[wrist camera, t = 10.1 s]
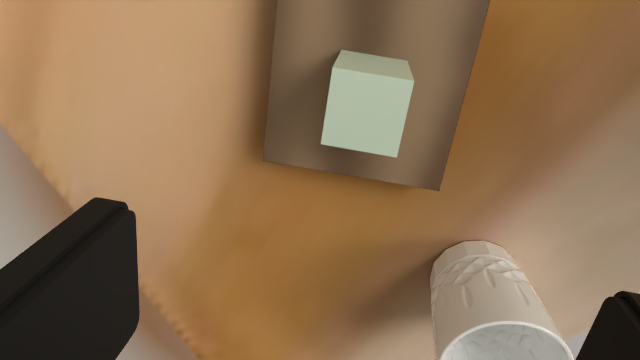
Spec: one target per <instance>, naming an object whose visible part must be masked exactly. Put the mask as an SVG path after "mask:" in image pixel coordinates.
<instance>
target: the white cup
mask: <svg viewBox="0 0 640 360" xmlns="http://www.w3.org/2000/svg"><path fill="white" fill-rule="evenodd" d="M430 287H431V312H432V329H433V339H434V350H435V360H574V357H573V355H572V352H571V350H570V349H569V347H568V345H567V344H566V342H565V340H564V339H563V337H562V335H561V334H560V332H559V330H558V328H557V327H556V325H555V323H554V322H553V320H552V318H551V316H550V315H549V313H548V311H547V309H546V308H545V306H544V304H543V303H542V301H541V299H540V298H539V296H538V294H537V293H536V292H535V290H534V289H533V287H532V285H531V283H530V282H529V280H528V279H527V278H526V276H525V275H524V274H523V272H522V271H521V269H520V267H519V265H518V264H517V262H516V260H515V259H514V258H513V257H512V256H511V255H510V254H509V253H508V252H507V251H506V250H505V249H504V248H503V247H501V246H498V245H495V244H493V243H490V242H487V241H464V242H461V243H459V244H457V245H455V246H452V247H450V248H448V249H446V250H445V251H444V252H443V253H442V254H441V255H440V256H439V258H438V259H437V260H436V261H435V262H434V263H433V268H432V272H431V276H430Z"/></svg>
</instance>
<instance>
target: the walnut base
mask: <svg viewBox="0 0 640 360" xmlns="http://www.w3.org/2000/svg"><path fill="white" fill-rule="evenodd" d="M489 3H490V0H277V9H276V20H275V31H274V42H273V53H272V64H271V75H270V86H269V97H268V108H267V119H266V130H265V141H264V152H263V161H267V162H273V163H278V164H284V165H290V166H296V167H302V168H308V169H313V170H319V171H325V172H331V173H337V174H343V175H349V176H354V177H360V178H366V179H372V180H378V181H384V182H390V183H395V184H401V185H407V186H413V187H419V188H425V189H430V190H436V191H439V190H440V186H441V182H442V178H443V175H444V171H445V167H446V163H447V160H448V156H449V152H450V149H451V145H452V141H453V137H454V134H455V130H456V126H457V122H458V119H459V115H460V111H461V108H462V104H463V100H464V96H465V93H466V89H467V85H468V81H469V78H470V74H471V70H472V66H473V63H474V59H475V55H476V52H477V48H478V44H479V40H480V37H481V33H482V29H483V25H484V22H485V18H486V14H487V11H488V7H489ZM341 50H346V51H352V52H358V53H364V54H370V55H376V56H382V57H388V58H394V59H400V60H406V61H408V64H409V67H410V70H411V73H412V76H413V79H414V85H413V89H412V94H411V98H410V102H409V107H408V111H407V115H406V120H405V124H404V129H403V133H402V137H401V142H400V146H399V150H398V155H397V158H396V157H391V156H385V155H379V154H374V153H368V152H362V151H357V150H351V149H345V148H340V147H334V146H328V145H323V144H321V139H322V132H323V126H324V119H325V113H326V106H327V100H328V93H329V87H330V80H331V74H332V67H333V65H334V63H335V61H336V60H337V58H338V56H339V54H340V52H341Z"/></svg>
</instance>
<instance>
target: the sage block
mask: <svg viewBox="0 0 640 360" xmlns="http://www.w3.org/2000/svg"><path fill="white" fill-rule="evenodd" d="M413 85H414V79H413V76H412V73H411V70H410V67H409V64H408V61H406V60H400V59H394V58H388V57H382V56H376V55H370V54H364V53H358V52H352V51H346V50H341V52H340V54H339V56H338V58H337V60H336V61H335V63H334V65H333V67H332V74H331V80H330V87H329V93H328V100H327V106H326V113H325V119H324V126H323V132H322V139H321V144H323V145H328V146H334V147H340V148H345V149H351V150H357V151H362V152H368V153H374V154H379V155H385V156H391V157H396V158H397V155H398V150H399V146H400V142H401V137H402V133H403V129H404V124H405V120H406V115H407V111H408V107H409V102H410V98H411V94H412V89H413Z"/></svg>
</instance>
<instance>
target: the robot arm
mask: <svg viewBox="0 0 640 360" xmlns="http://www.w3.org/2000/svg"><path fill="white" fill-rule="evenodd" d="M138 321H139V290H138V264H137V238H136V217H135V213H134V212H133V211H131V210H128V206H127V204H126V203H125V202H121V201H115V200H110V199H104V198H96V197H95V198H93V199H92V200H90V201H89V202H88V203H86V204H85V205H84V206H82V207H81V208H80V209H78V210H77V211H76V212H75V213H73V214H72V215H71V216H69V217H68V218H67V219H66V220H64V221H63V222H62V223H60V224H59V225H58V226H57V227H55V228H54V229H52V230H51V231H50V232H49V233H47V234H46V235H45V236H43V237H42V238H41V239H39V240H38V241H37V242H36V243H34V244H33V245H32V246H30V247H29V248H28V249H27V250H25V251H24V252H23V253H21V254H20V255H19V256H17V257H16V258H15V259H14V260H12V261H11V262H9V263H8V264H7V265H6V266H4V267H3V268H2V269H0V360H115V359H116V358H117V356H118V355H119V353H120V352H121V351H122V349H123V348H124V346H125V345H126V344H127V342H128V341H129V339H130V338H131V336H132V335H133V333H134V332H135V330H136V328H137V325H138ZM576 360H640V294H637V293H631V292H626V291H620V292H618V293H617V294H615V295H614V297H608V298H607V299H605V301H604V302H603V304H602V306H601V308H600V310H599V312H598V314H597V317H596V319H595V321H594V323H593V325H592V327H591V329H590V331H589V333H588V335H587V337H586V339H585V341H584V344H583V346H582V348H581V350H580V352H579V354H578V356H577V358H576Z"/></svg>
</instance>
